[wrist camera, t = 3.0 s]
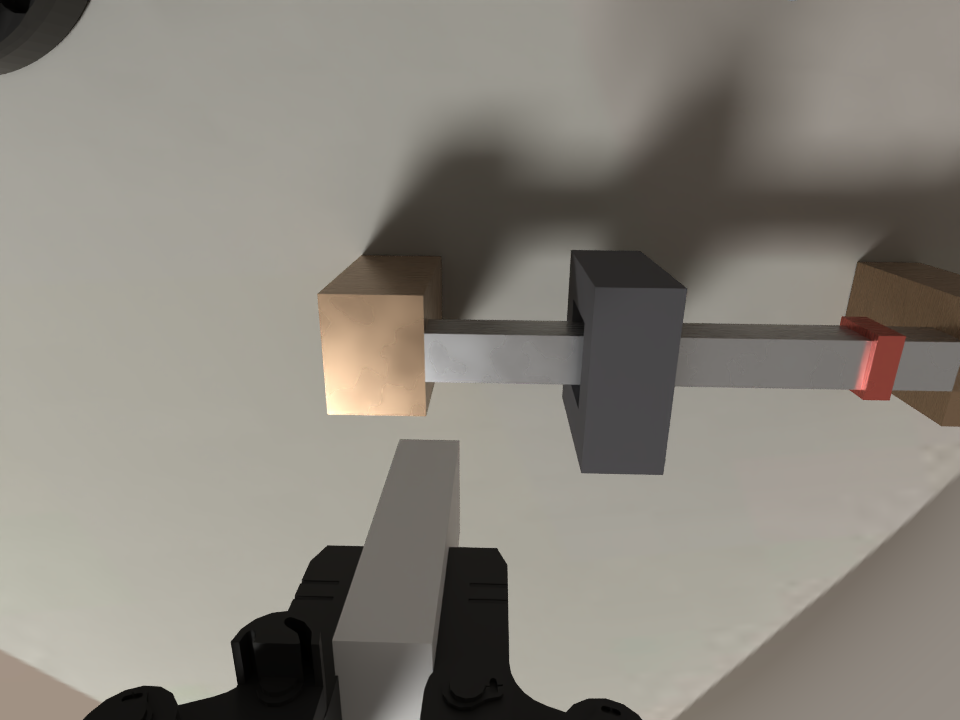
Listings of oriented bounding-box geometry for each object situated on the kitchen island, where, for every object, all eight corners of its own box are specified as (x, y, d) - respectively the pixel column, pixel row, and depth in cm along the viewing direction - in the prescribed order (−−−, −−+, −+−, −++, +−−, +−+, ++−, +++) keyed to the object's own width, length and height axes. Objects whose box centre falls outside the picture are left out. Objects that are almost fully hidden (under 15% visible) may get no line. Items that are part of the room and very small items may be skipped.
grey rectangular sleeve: (571, 250, 27) (595, 287, 20) (640, 250, 27) (687, 288, 20) (562, 396, 29) (581, 473, 22) (625, 398, 29) (663, 474, 22)
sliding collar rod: (361, 255, 30) (315, 296, 23) (919, 262, 30) (1068, 307, 22) (367, 349, 32) (325, 417, 24) (894, 358, 32) (1024, 431, 24)
